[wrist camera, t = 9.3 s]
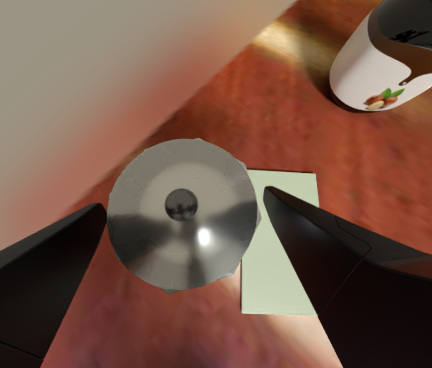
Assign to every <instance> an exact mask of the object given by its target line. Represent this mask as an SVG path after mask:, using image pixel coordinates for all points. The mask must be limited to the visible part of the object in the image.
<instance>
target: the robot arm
mask: <svg viewBox="0 0 432 368" xmlns="http://www.w3.org/2000/svg"><path fill="white" fill-rule="evenodd" d="M263 203H264V205H265V208H266V211H267V214H268V216H269V219H270V222H271V224H272V226H273V229H274V231H275V233H276V234H277V236H278V238H279V240H280V242H281V244H282V246H283V248H284V250H285V252H286V254H287V256H288V258H289V260H290V262H291V264H292V266H293V268H294V270H295V272H296V274H297V276H298V278H299V280H300V282H301V284H302V286H303V288H304V290H305V292H306V294H307V296H308V298H309V300H310V302H311V304H312V306H313V308H314V310H315V312H316V314H317V315H318V318H319V320H320V322H321V324H322V326H323V328H324V330H325V332H326V334H327V336H328V338H329V340H330V342H331V344H332V346H333V348H334V350H335V352H336V354H337V356H338V358H339V360H340V362H341V364H342V366H343V368H432V255H431V254H428V253H424V252H422V251H419V250H416V249H414V248H412V247H409V246H407V245H404V244H402V243H399V242H397V241H394V240H392V239H389V238H387V237H385V236H382V235H380V234H377V233H375V232H372V231H370V230H368V229H365V228H363V227H360V226H358V225H356V224H354V223H351V222H349V221H347V220H345V219H343V218H340V217H338V216H336V215H334V214H332V213H330V212H328V211H325V210H323V209H321V208H319V207H317V206H315V205H312V204H310V203H308V202H306V201H304V200H302V199H300V198H297V197H295V196H293V195H291V194H289V193H287V192H285V191H282V190H280V189H278V188H276V187H274V186H266V187H265V188H264V193H263ZM106 223H107V212H106V210H105V208H104V206H103V205H102V204H101V203H92V204H90V205H88V206H86V207H84V208H82V209H80V210H78V211H76V212H74V213H72V214H71V215H69V216H67V217H65V218H63V219H61V220H59V221H57V222H55V223H53V224H51V225H49V226H47V227H45V228H44V229H42V230H40V231H38V232H36V233H34V234H32V235H30V236H28V237H26V238H24V239H23V240H21V241H19V242H17V243H15V244H13V245H11V246H9V247H7V248H5V249H3V250H1V251H0V368H40V367H41V365H42V363H43V360H44V358H45V356H46V354H47V352H48V350H49V348H50V345H51V343H52V341H53V339H54V337H55V335H56V333H57V331H58V329H59V327H60V325H61V322H62V320H63V318H64V316H65V314H66V312H67V310H68V308H69V306H70V304H71V302H72V299H73V297H74V295H75V293H76V291H77V289H78V287H79V285H80V283H81V281H82V279H83V276H84V274H85V272H86V270H87V268H88V266H89V264H90V262H91V260H92V258H93V256H94V253H95V251H96V249H97V247H98V245H99V242H100V240H101V237H102V234H103V231H104V229H105V226H106Z"/></svg>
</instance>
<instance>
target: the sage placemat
mask: <svg viewBox="0 0 432 368" xmlns="http://www.w3.org/2000/svg"><path fill="white" fill-rule="evenodd" d="M247 172H248V175H249V178H250V179H251V182H252V184H253V187H254V190H255V194H256V199H257V204H258V207H259V210H260V214H261V217H262V218H261V221H260V223H259V225H258V227H257V229H256V231H255V233H254V235H253V238H252V240H251V243H250V245H249V247H248V249H247V250H246V252H245V254H244V255H243V257H242V291H241V312H242V313H246V314H276V315H306V316H318V315H317V314H316V312H315V310H314V308H313V306H312V304H311V302H310V300H309V298H308V296H307V294H306V292H305V290H304V288H303V286H302V284H301V282H300V280H299V278H298V276H297V274H296V272H295V270H294V268H293V266H292V264H291V262H290V260H289V258H288V256H287V254H286V252H285V250H284V248H283V246H282V244H281V242H280V240H279V238H278V236H277V234H276V233H275V231H274V229H273V226H272V224H271V222H270V219H269V216H268V214H267V211H266V208H265V205H264V203H263V193H264V188H265V187H266V186H274V187H276V188H278V189H280V190H282V191H285V192H287V193H289V194H291V195H293V196H295V197H297V198H300V199H302V200H304V201H306V202H308V203H310V204H312V205H315V206H317V207H319V202H318V193H317V183H316V174H310V173H293V172H276V171H260V170H247Z"/></svg>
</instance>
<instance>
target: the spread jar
mask: <svg viewBox="0 0 432 368" xmlns="http://www.w3.org/2000/svg"><path fill="white" fill-rule="evenodd" d="M328 87H329V92H330V95H331V97H332V98H333V100H334V101H335V102H336V104H337V105H339V106H340V107H341V108H343V109H345V110H347V111H350V112H353V113H374V112H380V111H384V110H388V109H391V108H394V107H396V106H399V105H401V104H403V103H405V102H406V101H408V100H410V99H412V98H414V97H415V96H417V95H419V94H421V93H422V92H424V91H426V90H427V89H429V88H431V87H432V0H382V1H381V2H380V3H379V4H378V5H377V6H376V7H375V8H374V9H373V10H372V11H371V12H370V13H369V14H368V15H367V17H366V18H365V19H364V20H363V21H362V23H361V24H360V25H359V26H358V28H357V29H356V30H355V32H354V33H353V34H352V36H351V37H350V38H349V39H348V41H347V42H346V43H345V45H344V46H343V47H342V49H341V50H340V52H339V53H338V55H337V56H336V58H335V60H334V62H333V64H332V66H331V69H330V73H329V78H328Z"/></svg>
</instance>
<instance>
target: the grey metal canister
mask: <svg viewBox="0 0 432 368" xmlns="http://www.w3.org/2000/svg"><path fill="white" fill-rule="evenodd" d="M261 218H262V217H261V214H260V210H259V207H258V204H257V199H256V194H255V190H254V187H253V184H252V182H251V179H250V178H249V175H248V172H247V168H246V165H245V164H244V163H242V162H240V161H239V160H237V159H236V158H234V157H233V156H232V155H231V154H230V153H228V152H227V151H225V150H224V149H222V148H220V147H218V146H216V145H214V144H211V143H209V142H206V141H204V140H202V139H200V138H196V139H176V140H170V141H166V142H162V143H160V144H157V145H154V146H152V147H150V148H147V149H145V150H144V151H143V152H142V153H141V154H139V155H138V156H137V157H135V158H134V159H133V160H132V161H131V162H130V163H129V164H128V165H127V166H126V167H125V169H124V170H123V171H122V173H121V174H120V176H119V177H118V179H117V181H116V183H115V185H114V187H113V189H112V192H111V193H110V194H109V203H108V210H107V226H108V233H109V237H110V240H111V243H112V246H113V248H114V252H115V258H117V259H118V260H120V261H121V262H122V263H123V264H124V265H125V266H126V267H127V269H128V270H129V271H130V272H132V273H133V274H134V275H135V276H137V277H138V278H140V279H141V280H143V281H145V282H147V283H149V284H152V285H154V286H157V287H159V288H161V289H162V290H164V291H165V292H166V293H168V294H171V293H174V292H177V291H181V290H184V289H192V288H197V287H201V286H204V285H206V284H209V283H211V282H213V281H215V280H218V279H222V278H225V277H228V276H232V274H234V272H235V270H236V268H237V266H238V264H239V262H240V260H241V259H242V257H243V255H244V254H245V252H246V250H247V249H248V247H249V245H250V243H251V240H252V238H253V235H254V233H255V231H256V229H257V227H258V225H259V223H260V221H261Z"/></svg>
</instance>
